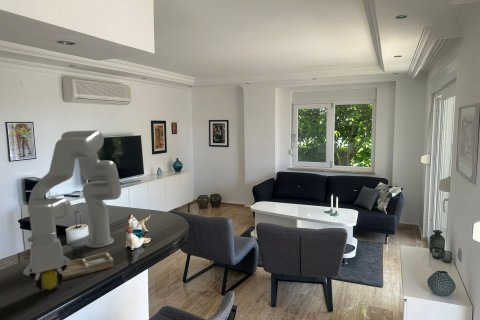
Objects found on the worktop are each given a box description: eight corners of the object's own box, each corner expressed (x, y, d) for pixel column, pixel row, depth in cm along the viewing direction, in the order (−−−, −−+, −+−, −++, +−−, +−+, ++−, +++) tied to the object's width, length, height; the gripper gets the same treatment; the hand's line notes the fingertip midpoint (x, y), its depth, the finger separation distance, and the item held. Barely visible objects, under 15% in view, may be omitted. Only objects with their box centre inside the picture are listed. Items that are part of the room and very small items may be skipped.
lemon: (42, 295, 119) (40, 273, 118) (40, 289, 124) (38, 268, 123) (60, 290, 122) (57, 269, 121) (57, 284, 127) (55, 264, 126)
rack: (57, 271, 138) (56, 264, 138) (107, 258, 150) (107, 252, 149) (60, 280, 130) (59, 273, 130) (114, 266, 141) (113, 259, 141)
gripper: (16, 246, 113) (22, 298, 115) (73, 235, 122) (77, 282, 125) (15, 240, 119) (21, 289, 121) (69, 230, 129) (74, 275, 131)
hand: (50, 285), depth 123 cm, fingers closed on lemon, 5 cm apart
